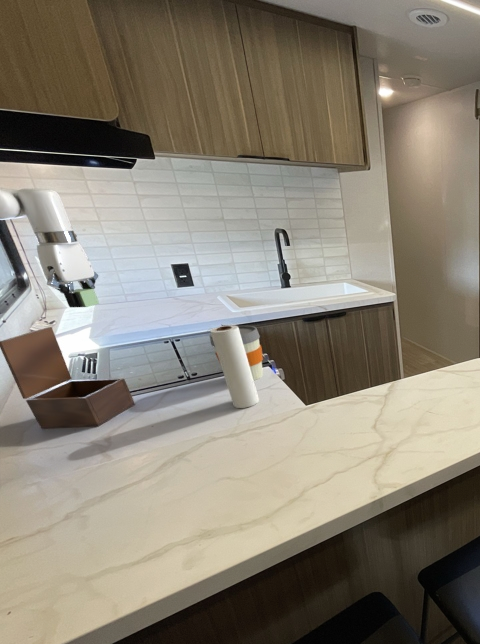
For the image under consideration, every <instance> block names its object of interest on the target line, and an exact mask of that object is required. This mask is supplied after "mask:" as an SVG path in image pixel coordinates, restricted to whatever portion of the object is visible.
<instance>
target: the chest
mask: <svg viewBox="0 0 480 644" xmlns="http://www.w3.org/2000/svg"><path fill="white" fill-rule="evenodd" d="M25 402H26V403H27V406H28V407H29V409H30V410H31V412H32V414H33V416H34V418H35V420H36V422H37V423H38V425H39V427H40V429H63V428H65V429H66V428H67V429H68V428H91V427H92V428H93V427H100V426H102V425H103V424H105V423H107V422H108V421H110V420H112V419H113V418H115V417H116V416H118V415H120V414H122V413H123V412H126V411H127V410H128V409H130V408H132V407H133V406H135V405H136V403H135V400H134V398H133V396H132V393H131V392H130V389H129V386H128V384H127V381H126V380H125V378H106V379H105V378H98V379H97V378H96V379H70V380H68V381H65V382H63V383H61V384H59V385H56V386H54V387H52V388H49V389H47V390H45V391H43V392H40V393H38V394H36V395H34V396H31V397H29V398H27V399H25Z"/></svg>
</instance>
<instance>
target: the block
mask: <svg viewBox="0 0 480 644" xmlns="http://www.w3.org/2000/svg"><path fill="white" fill-rule="evenodd" d="M94 291H95V289H83V288H76V289H74V293H77V294H78V296H79V298H80V301H81V303H82V307H81V308H88V307H93V306H97V305H100V302H99V299H98V297H96V296H97V294H96V291H95V292H94Z"/></svg>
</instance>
